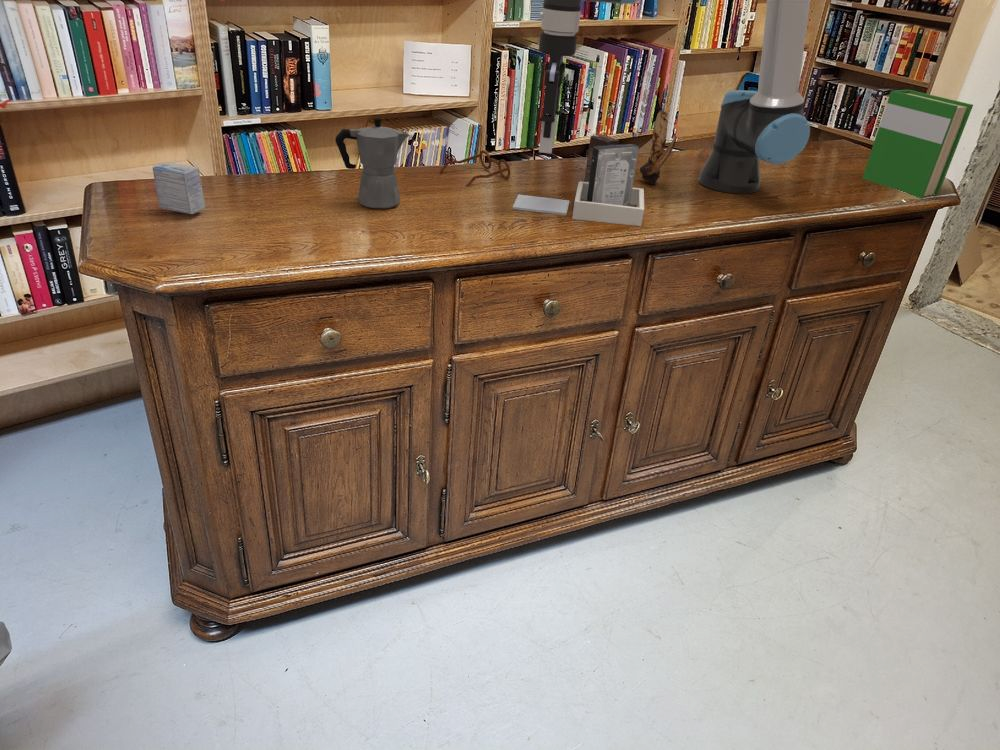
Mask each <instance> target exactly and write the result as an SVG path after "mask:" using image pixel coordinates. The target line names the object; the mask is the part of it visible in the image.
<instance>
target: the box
mask: <svg viewBox="0 0 1000 750" xmlns="http://www.w3.org/2000/svg"><path fill="white" fill-rule="evenodd" d="M606 145H620V139H617V138H613V137H610V136H607V135H604V134H594V135H590V138H589V145H588V146H589V147H588V152H587V153H588V154H587V159H586V160H587V161H586V168H585V175H584V181H583V182H589V179H590V171H591V164H592V155H593V148H594V146H606Z"/></svg>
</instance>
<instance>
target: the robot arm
mask: <svg viewBox="0 0 1000 750" xmlns="http://www.w3.org/2000/svg"><path fill="white" fill-rule="evenodd" d="M638 1H639V0H543V2H542V3H543V5H542V12H539V14H538V17H539V18H541V19H542V20H541V23H540V29H542V30H543V31H542V32H541V33H540V34H539V42H538V45H539V46H538V51H539V52H540V53H541V54H544V55H549V60H548V61H546V63H545V66H544V73H545V74H544V75H545V76H544V83H543V84H544V95H543V104H542V105H543V106H542V114H541V116H540V117H538V122H541V125H540V126H541V127H540V128H541V129H540V138H539V148H538V153H542V154H543V153H545V154H552V153H553V148H554V147H555V143H556V142H555V140H556V133H557V124H558V116H561V115H562V111H561V110H559V109H560V98H561V89H562V88H561V87H562V85H563V82H564V73H565V71H566V64H567V63H565V62H564V61H563V59H564V57H572V56H574V55H576V51H577V50H576V49H577V44H578V37H577V35H576V34H577V33H578V32H579V28H580V18H581V11H582V9H581V8H582V2H595V3H607V4H620V5H621V6H622V5H624V4H625V5H631V4H632V5H633V4H636V3H637V2H638ZM810 6H811V0H766V7H765V19H764V29H763V36H762V37H763V38H762V47H761V48H762V49H761V57H760V58H761V59H760V67H759V76H758V88H757V90H742V89H737V90H736V89H733V90H728V91H726V93H725V94H724V96H723V99H722V102H721V105H720V108H721V109H720V111H719V117H718V121H717V126H716V130H715V136H714V140H713V145H712V150H711V153H710V154H709V156H708V158H707V159H706V161H705V163H704V164H703V166H702V169H701V170H700V172H699V176H698V177H699V178H698V183H700V184H701V185H702V186H704V187H706V188H709V189H711V190H714V191H717V192H718V191H719V192H722V193H723V192H724V193H727V194H738V195H743V194H745V195H746V194H747V193H748V194H753V193H752V192H754V193H756V192H758V191H759V190H760V186H761V185H760V184H761V167H760V160H761V161H763V162H767V163H770V164H773V165H781V164H784V163H787V162H789V161H791V160H793V159H795V158H796V157H797V155H799V154H800V153H801V152H802V151H803V150H804V149H805V147H806V146H807V143H808V141H809V138H810V134H811V125H810V123H809V121H808V120H807V118H806V117H805V116H804V115H803V113H804V106H805V98H804V96H802V94H801V93H800V92H799V89H800V82H801V74H802V73H801V72H802V67H803V66H802V65H803V60H804V59H803V58H804V50H805V44H806V35H807V29H808V28H807V27H808V20H809V14H810ZM757 190H758V191H757Z"/></svg>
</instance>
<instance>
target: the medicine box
mask: <svg viewBox="0 0 1000 750" xmlns="http://www.w3.org/2000/svg"><path fill="white" fill-rule="evenodd" d="M152 174H153V178H154V185H155V189H156V194H157V201H158V207H159V209H162V210H163V209H164V210H168V211H174V212H177V213H182V214H189V215H194V214H196V213H199V212H200V211H202V210H204V209H206V205H205V204H206V203H205V199H204V192H203V186H202V179H201V175H200V167H198V166H193V165H187V164H181V163H176V162H171V161H165V162H160V163H159V164H156V165H154V166H152Z"/></svg>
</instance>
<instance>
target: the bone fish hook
mask: <svg viewBox="0 0 1000 750" xmlns="http://www.w3.org/2000/svg"><path fill="white" fill-rule="evenodd" d="M667 118H668V112H666V111H665V110H659V112H658V113H657V115H656V118H655V122H654V125H653V130H652V136H651V146H650V153H649V156H648V159H647V162H646V163H645V164H643V165H642V166H641V167H640V168H639V172H640V173H641V175H642V180H643V181H644V182H647V183H648V184H651V185H655V184H656V182H657V181H658V179H659V178H660V174H661V167H663V165H664V163H666V161H667V159H668V158H669V156H670V155H671V154H672V151H673V149H674V147H675V145H676V143H677V135H675V136H674V137H673V139H672V140H671V142H670V143H669V144H668V146H667V147H666V140H667V134H668V133H667V132H668V119H667ZM665 147H666V149H665Z"/></svg>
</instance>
